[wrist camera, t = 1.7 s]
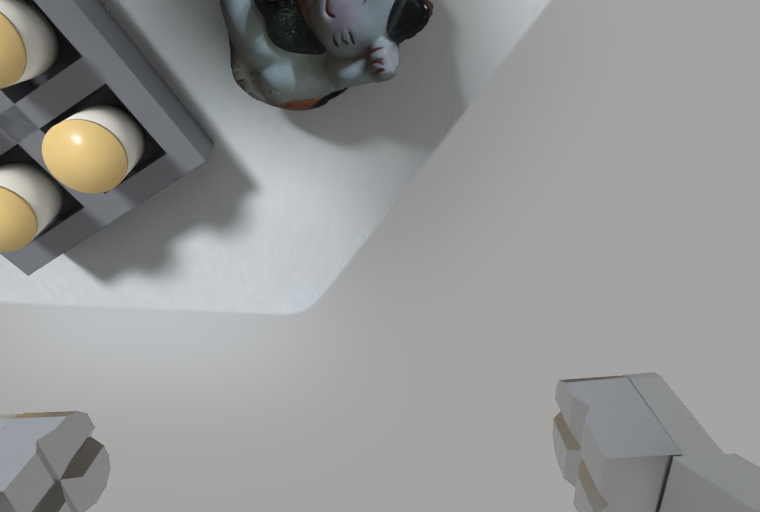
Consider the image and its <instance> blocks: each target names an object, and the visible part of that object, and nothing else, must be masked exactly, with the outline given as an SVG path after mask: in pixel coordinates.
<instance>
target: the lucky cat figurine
mask: <svg viewBox="0 0 760 512" xmlns="http://www.w3.org/2000/svg"><path fill="white" fill-rule="evenodd" d="M220 5H221V9H222V13H223V16H224V19H225V23H226V26H227V29H228V35H229V43H230V53H231V68H232V72H233V76H234V79H235V81H236V83H237V84H238V85H239V86H240V87H241V88H242V89H243V90H244V91H245V92H247V93H248V94H249V95H250V96H252V97H253V98H255V99H257V100H260V101H262V102H264V103H267V104H269V105H272V106H275V107H280V108H284V109H289V110H309V109H314V108H317V107H320V106H323V105H324V104H326V103H327V102H328V101H329V100H330V99H333V98H334V97H336V96H338V95H340V94H341V93H343V92H344V91H345V90H347V89H348V87H352V86H356V85H360V84H366V83H369V82H377V83H378V82H382V81H385V80H390V79H391V78H393V76H394V75H395V74H396V72H395V71H396V68H397V67H398V65H399V43H402V42H403V41H404V40H406V39H410V38H412V37H414V36H415V35H416V34H417V33H418V32H420V31H421V30H422V29H423V28H424V27H425V26H426V24H427V23H428V21H429V18H430V17H431V15H432V10H433V5H432V3H431V2H430V1H429V0H220Z"/></svg>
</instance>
